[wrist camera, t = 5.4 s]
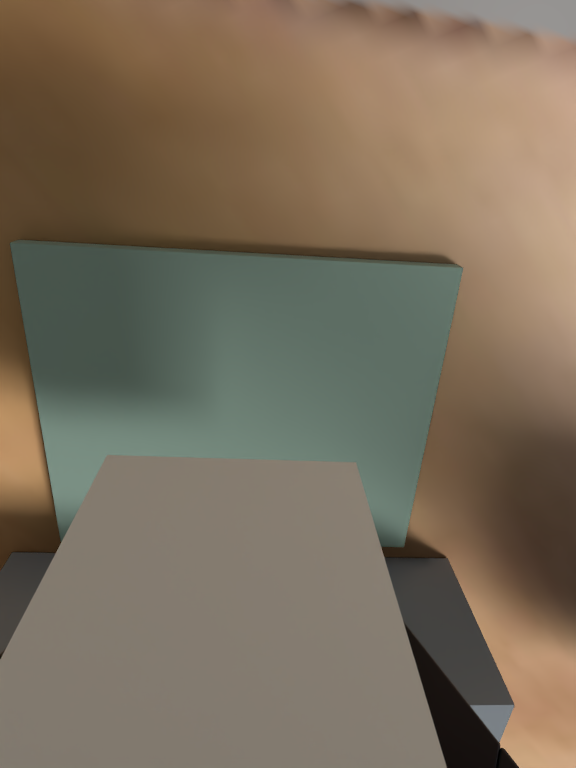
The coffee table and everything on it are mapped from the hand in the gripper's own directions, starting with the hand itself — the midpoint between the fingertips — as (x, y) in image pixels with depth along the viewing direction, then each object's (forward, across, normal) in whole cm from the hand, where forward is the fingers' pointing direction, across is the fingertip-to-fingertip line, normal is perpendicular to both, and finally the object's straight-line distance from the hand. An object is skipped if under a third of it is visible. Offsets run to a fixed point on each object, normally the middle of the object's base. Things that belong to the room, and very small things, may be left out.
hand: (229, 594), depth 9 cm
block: (+1, 0, 0) cm, 1 cm away
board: (+7, 0, 0) cm, 7 cm away
